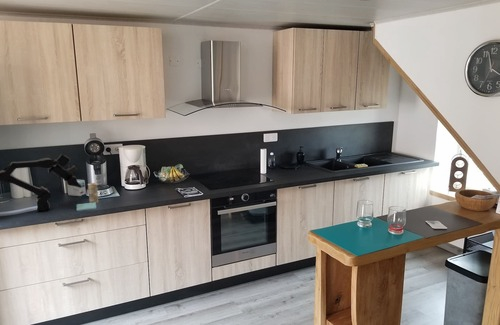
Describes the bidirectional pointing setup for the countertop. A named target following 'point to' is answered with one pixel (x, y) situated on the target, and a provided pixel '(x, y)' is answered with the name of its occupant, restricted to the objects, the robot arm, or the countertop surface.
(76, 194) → the light bulb box
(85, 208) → the teal pad
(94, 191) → the beech block
